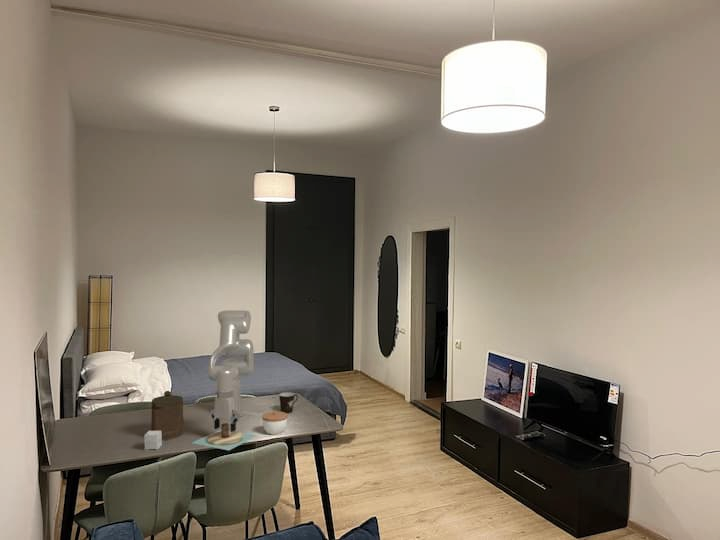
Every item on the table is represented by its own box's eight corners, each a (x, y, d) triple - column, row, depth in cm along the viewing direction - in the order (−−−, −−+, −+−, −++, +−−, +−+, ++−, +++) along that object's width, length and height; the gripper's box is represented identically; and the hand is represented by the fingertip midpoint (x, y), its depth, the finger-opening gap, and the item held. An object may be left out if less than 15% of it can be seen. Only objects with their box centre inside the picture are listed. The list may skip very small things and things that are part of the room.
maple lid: (199, 442, 254) (199, 427, 254) (222, 431, 270) (222, 417, 269) (228, 447, 247) (227, 432, 247) (250, 436, 263) (250, 421, 262)
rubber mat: (191, 443, 253) (191, 442, 253) (221, 429, 273) (221, 429, 273) (228, 451, 244) (228, 450, 244) (257, 436, 264) (257, 435, 264)
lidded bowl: (282, 438, 261) (282, 415, 261) (258, 436, 264) (258, 414, 264) (290, 429, 274) (290, 408, 273) (267, 428, 276) (267, 407, 276)
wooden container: (172, 428, 275) (172, 386, 274) (189, 434, 266) (189, 390, 265) (145, 435, 264) (145, 391, 263) (161, 442, 254) (161, 397, 254)
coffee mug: (281, 414, 299) (281, 397, 299) (277, 410, 307) (277, 393, 307) (301, 412, 303) (301, 395, 303) (297, 408, 311) (297, 391, 311)
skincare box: (162, 445, 250) (161, 430, 250) (157, 450, 244) (157, 434, 244) (148, 445, 250) (148, 430, 250) (144, 450, 244) (144, 434, 244)
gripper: (205, 394, 258) (205, 429, 258) (234, 398, 251) (234, 434, 251) (215, 391, 265) (216, 425, 265) (244, 394, 257) (244, 430, 258)
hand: (225, 429), depth 258 cm, fingers open, 9 cm apart
